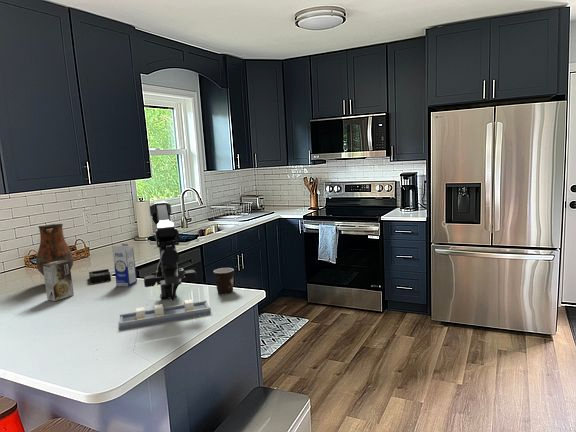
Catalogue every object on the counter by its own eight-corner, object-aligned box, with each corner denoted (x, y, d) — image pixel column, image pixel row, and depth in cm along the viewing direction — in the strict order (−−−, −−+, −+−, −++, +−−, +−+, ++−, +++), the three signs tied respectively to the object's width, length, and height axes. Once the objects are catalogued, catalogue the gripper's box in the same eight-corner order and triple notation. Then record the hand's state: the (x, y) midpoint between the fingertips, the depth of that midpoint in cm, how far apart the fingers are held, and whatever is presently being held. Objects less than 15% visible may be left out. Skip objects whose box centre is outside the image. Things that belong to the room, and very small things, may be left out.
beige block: (136, 316, 158) (135, 308, 157) (145, 315, 159) (144, 306, 158) (136, 320, 154) (135, 311, 154) (145, 318, 155) (144, 310, 155)
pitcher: (76, 276, 229) (69, 221, 225) (75, 286, 210) (67, 225, 206) (40, 281, 222) (33, 224, 218) (36, 292, 203) (28, 229, 199)
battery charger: (111, 281, 215) (110, 274, 215) (90, 285, 211) (89, 277, 211) (109, 276, 227) (108, 268, 226) (89, 279, 223) (88, 271, 222)
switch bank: (120, 320, 159) (119, 314, 159) (206, 305, 170) (206, 300, 169) (119, 329, 150) (119, 323, 149) (211, 313, 160) (210, 307, 160)
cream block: (184, 308, 164) (183, 300, 163) (192, 307, 165) (191, 299, 164) (185, 311, 160) (185, 303, 160) (194, 310, 161) (193, 302, 161)
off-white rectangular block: (154, 313, 160) (153, 305, 160) (163, 312, 161) (162, 304, 161) (155, 316, 156) (154, 308, 156) (163, 315, 157) (163, 307, 157)
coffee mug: (226, 288, 191) (224, 266, 190) (239, 291, 186) (237, 269, 184) (205, 296, 182) (203, 273, 181) (219, 299, 177) (217, 275, 175)
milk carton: (116, 286, 205) (111, 245, 202) (124, 282, 211) (120, 242, 209) (129, 286, 203) (124, 245, 200) (137, 282, 210) (133, 242, 207)
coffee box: (66, 293, 198) (61, 259, 196) (74, 295, 194) (70, 260, 192) (46, 299, 190) (41, 264, 188) (54, 301, 187) (50, 265, 185)
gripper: (142, 267, 147) (147, 311, 149) (197, 260, 154) (201, 302, 156) (141, 261, 158) (146, 302, 160) (193, 254, 164) (196, 294, 166)
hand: (172, 300), depth 160 cm, fingers closed
